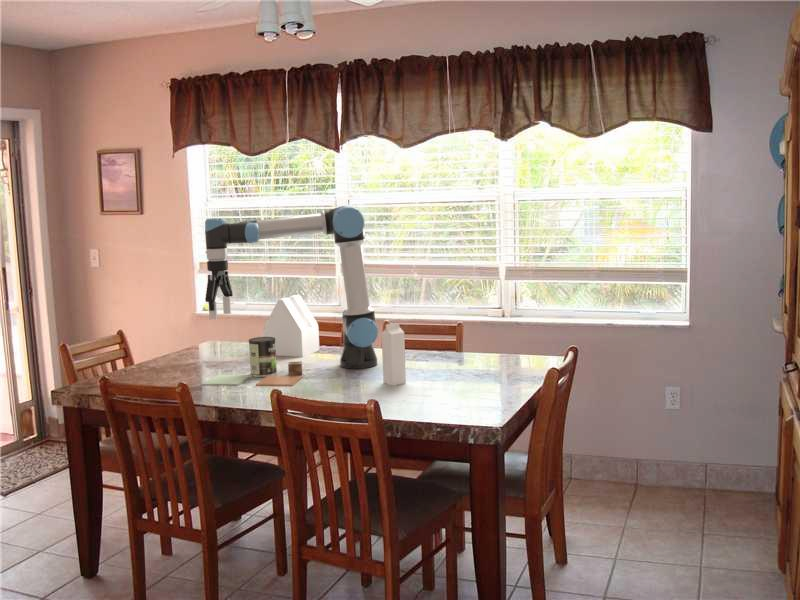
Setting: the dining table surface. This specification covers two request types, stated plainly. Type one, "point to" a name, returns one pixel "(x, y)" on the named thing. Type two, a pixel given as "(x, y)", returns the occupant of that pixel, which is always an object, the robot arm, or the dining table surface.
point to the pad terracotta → (279, 380)
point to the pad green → (227, 380)
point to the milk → (393, 355)
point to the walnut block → (295, 368)
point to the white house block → (292, 328)
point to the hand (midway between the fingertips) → (220, 316)
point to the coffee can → (262, 356)
